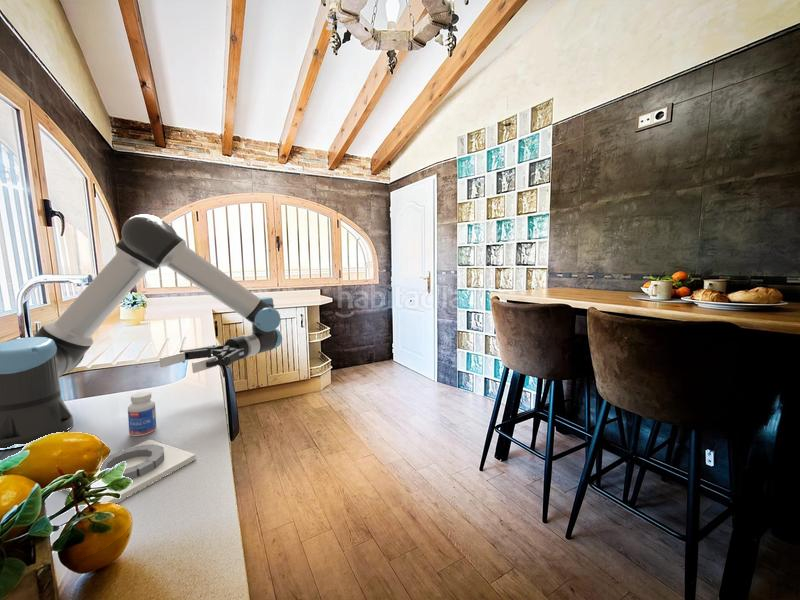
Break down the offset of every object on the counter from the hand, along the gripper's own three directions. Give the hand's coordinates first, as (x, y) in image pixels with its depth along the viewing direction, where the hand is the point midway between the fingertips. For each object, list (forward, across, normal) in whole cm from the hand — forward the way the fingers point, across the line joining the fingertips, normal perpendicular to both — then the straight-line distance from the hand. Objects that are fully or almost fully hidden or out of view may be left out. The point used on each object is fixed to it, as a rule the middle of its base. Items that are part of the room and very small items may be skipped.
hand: (176, 365), depth 89 cm
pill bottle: (+9, 0, -15) cm, 17 cm away
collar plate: (+20, -16, -15) cm, 29 cm away
